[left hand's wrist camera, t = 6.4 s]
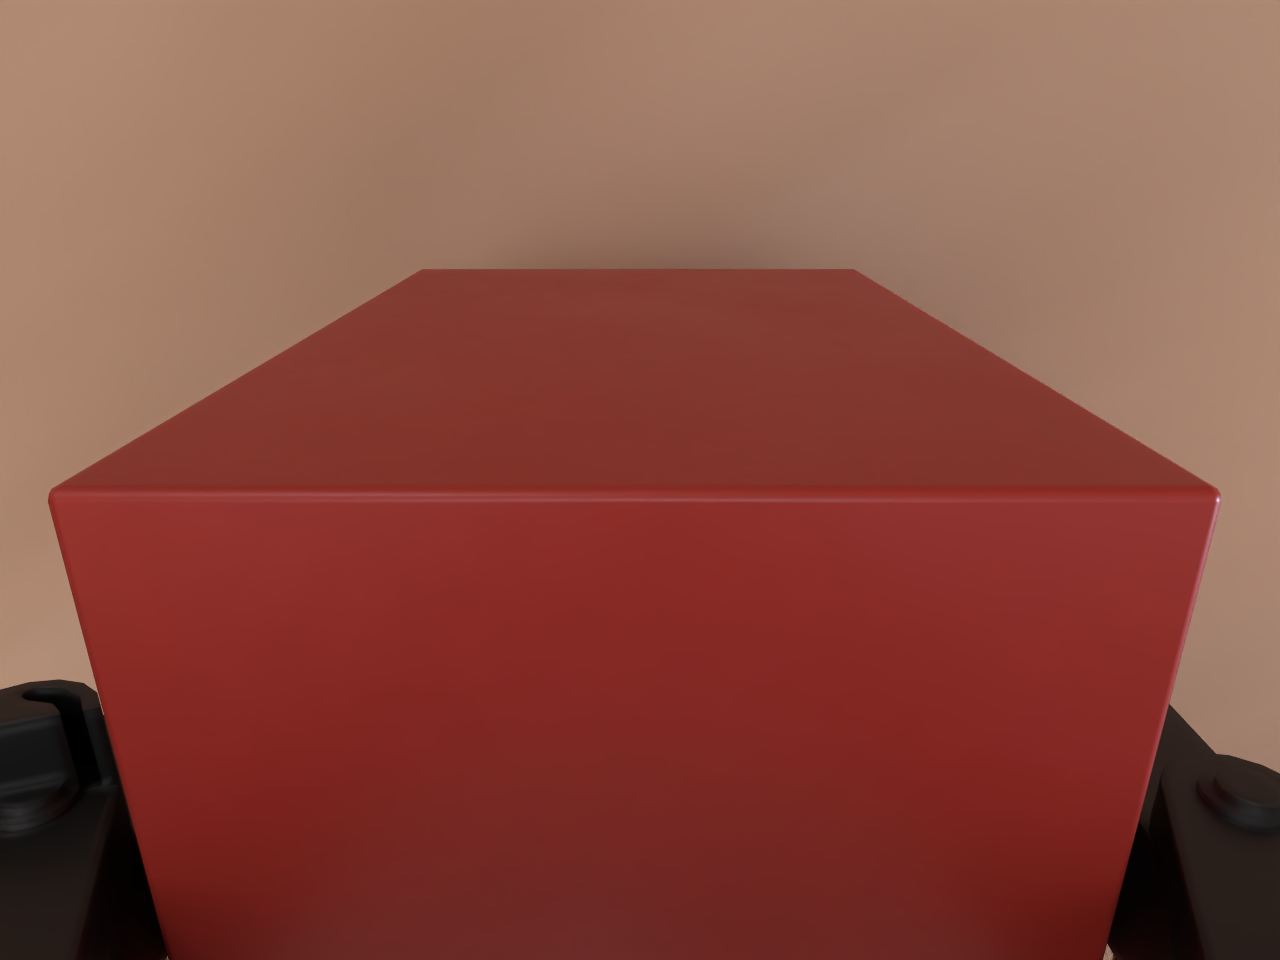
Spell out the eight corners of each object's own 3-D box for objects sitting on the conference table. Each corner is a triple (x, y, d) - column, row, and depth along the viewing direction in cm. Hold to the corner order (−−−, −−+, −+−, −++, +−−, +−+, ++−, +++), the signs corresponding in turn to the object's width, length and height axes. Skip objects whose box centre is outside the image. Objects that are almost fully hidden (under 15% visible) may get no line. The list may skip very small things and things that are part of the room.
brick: (857, 268, 14) (1229, 490, 5) (820, 699, 17) (1016, 1312, 8) (419, 268, 14) (38, 490, 5) (457, 698, 17) (256, 1312, 8)
